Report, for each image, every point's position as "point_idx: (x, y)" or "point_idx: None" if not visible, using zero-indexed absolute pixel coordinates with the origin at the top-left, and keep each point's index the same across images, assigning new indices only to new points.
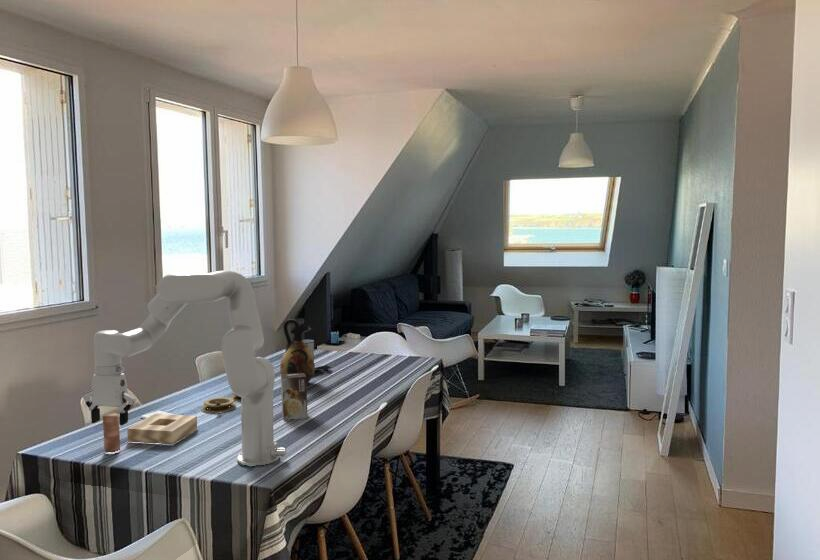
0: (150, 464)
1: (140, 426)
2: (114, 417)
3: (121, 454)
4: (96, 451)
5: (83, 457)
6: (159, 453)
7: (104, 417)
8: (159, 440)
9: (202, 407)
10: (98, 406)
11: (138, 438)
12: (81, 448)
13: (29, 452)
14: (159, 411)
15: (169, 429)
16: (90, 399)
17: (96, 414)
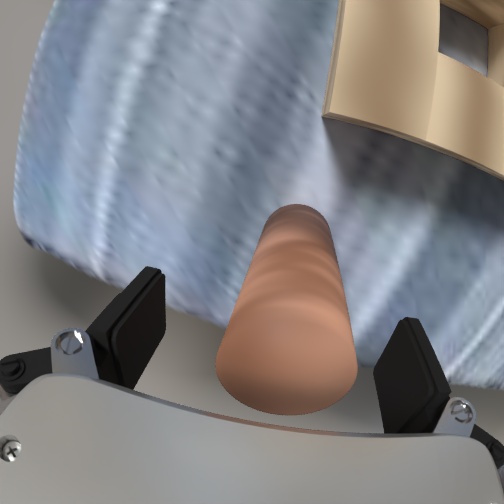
0: (458, 347)
1: (402, 77)
2: (334, 398)
3: (348, 263)
4: (215, 221)
5: (200, 283)
6: (483, 260)
7: (253, 406)
8: (487, 171)
9: None
10: (94, 359)
11: (390, 132)
12: (132, 185)
13: (25, 227)
14: None
15: None
16: (2, 400)
17: (140, 347)
